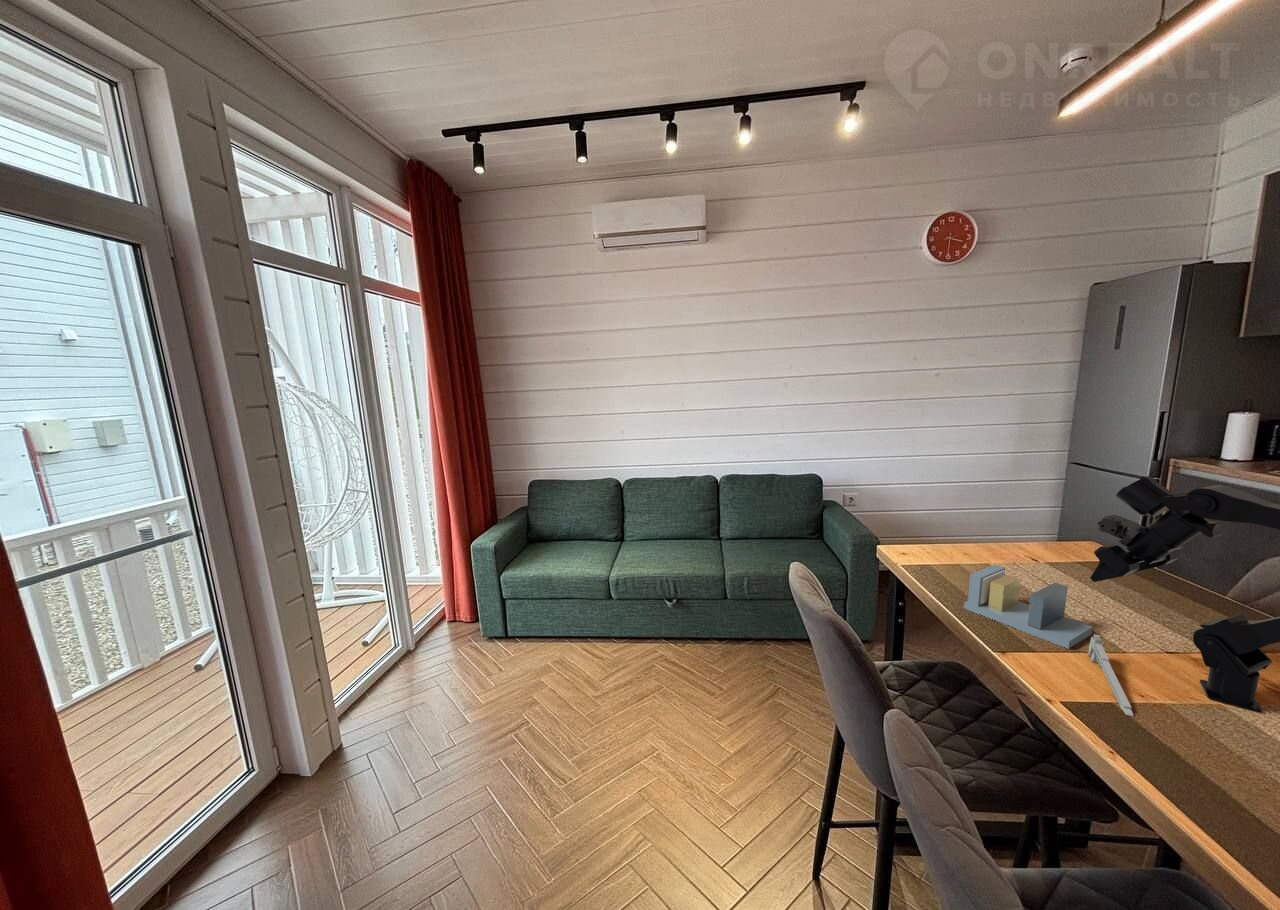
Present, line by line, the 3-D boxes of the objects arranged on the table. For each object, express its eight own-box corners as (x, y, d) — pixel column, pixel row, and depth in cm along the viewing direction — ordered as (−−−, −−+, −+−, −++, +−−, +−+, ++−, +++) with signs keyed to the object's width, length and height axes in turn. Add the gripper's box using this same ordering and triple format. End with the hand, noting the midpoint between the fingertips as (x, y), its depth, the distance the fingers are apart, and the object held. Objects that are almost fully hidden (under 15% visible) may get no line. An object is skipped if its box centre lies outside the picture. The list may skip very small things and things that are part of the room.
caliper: (1087, 657, 103) (1090, 630, 102) (1093, 658, 103) (1097, 632, 102) (1125, 716, 86) (1130, 685, 85) (1133, 718, 85) (1138, 686, 84)
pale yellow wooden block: (1017, 604, 122) (1020, 578, 121) (1001, 611, 119) (1004, 586, 118) (1004, 599, 125) (1006, 574, 124) (988, 607, 121) (990, 581, 120)
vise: (1091, 634, 111) (1097, 595, 110) (1068, 649, 106) (1073, 608, 104) (988, 597, 130) (991, 563, 129) (963, 608, 125) (966, 573, 123)
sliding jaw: (1064, 616, 116) (1067, 586, 114) (1040, 629, 110) (1043, 598, 109) (1049, 611, 118) (1053, 582, 117) (1025, 623, 113) (1028, 593, 111)
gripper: (1153, 499, 104) (1097, 542, 114) (1100, 509, 98) (1046, 553, 108) (1209, 538, 96) (1143, 581, 107) (1156, 552, 90) (1092, 595, 101)
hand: (1105, 576), depth 106 cm, fingers open, 9 cm apart
